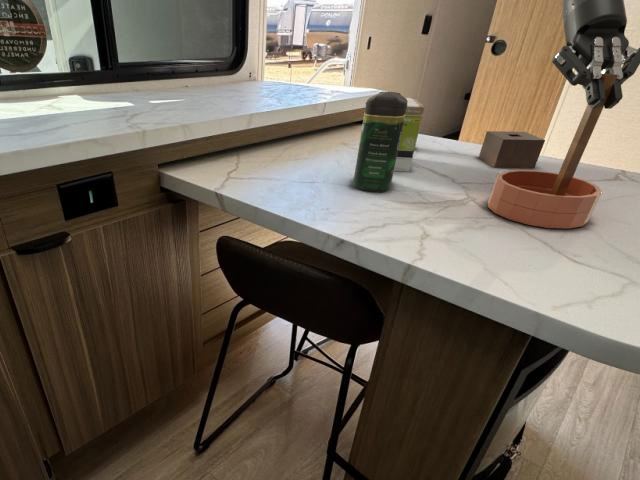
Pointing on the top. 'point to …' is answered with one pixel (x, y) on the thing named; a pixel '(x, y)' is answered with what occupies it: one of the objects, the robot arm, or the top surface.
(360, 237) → the top surface
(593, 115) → the stirring stick
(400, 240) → the top surface
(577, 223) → the bowl
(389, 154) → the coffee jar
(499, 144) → the block
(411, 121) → the tea box
